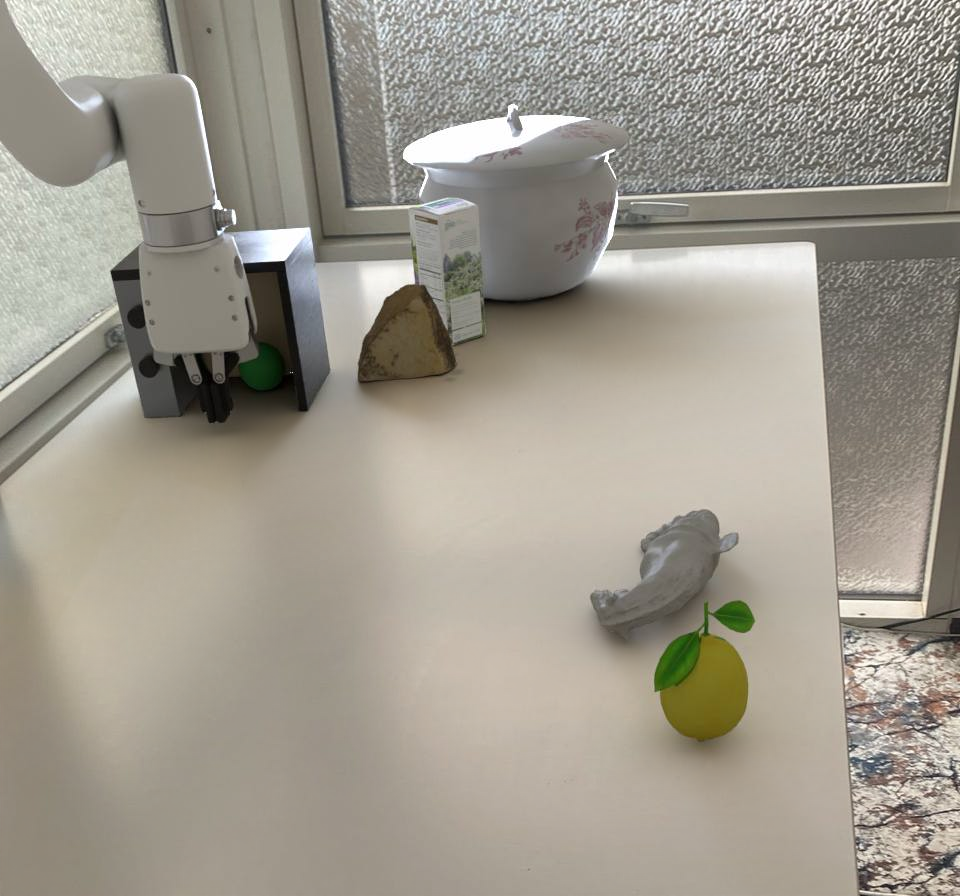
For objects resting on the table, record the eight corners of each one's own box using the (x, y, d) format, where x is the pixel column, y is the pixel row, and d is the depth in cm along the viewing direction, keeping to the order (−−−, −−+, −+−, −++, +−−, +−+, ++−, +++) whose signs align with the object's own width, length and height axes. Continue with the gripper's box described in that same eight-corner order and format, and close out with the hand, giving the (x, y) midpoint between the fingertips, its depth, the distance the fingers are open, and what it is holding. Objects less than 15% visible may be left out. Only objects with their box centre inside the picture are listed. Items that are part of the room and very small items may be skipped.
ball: (233, 334, 144) (249, 351, 149) (229, 380, 144) (246, 396, 149) (277, 334, 143) (292, 352, 148) (274, 381, 143) (289, 397, 148)
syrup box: (456, 326, 160) (445, 195, 151) (488, 336, 156) (478, 201, 147) (419, 339, 157) (405, 205, 148) (450, 348, 153) (438, 212, 145)
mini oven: (141, 421, 142) (106, 273, 133) (177, 376, 153) (147, 237, 144) (306, 414, 140) (282, 263, 131) (330, 369, 151) (310, 227, 142)
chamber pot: (520, 333, 156) (508, 136, 143) (373, 296, 173) (352, 116, 160) (678, 274, 170) (680, 90, 157) (528, 245, 187) (519, 76, 174)
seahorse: (591, 522, 111) (572, 603, 94) (725, 471, 107) (731, 546, 90) (613, 578, 113) (598, 667, 96) (745, 530, 110) (754, 614, 92)
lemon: (749, 711, 88) (757, 574, 82) (761, 761, 84) (770, 619, 78) (648, 716, 89) (648, 580, 83) (654, 766, 84) (654, 625, 78)
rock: (334, 370, 143) (417, 361, 139) (338, 290, 143) (421, 279, 139) (382, 402, 153) (461, 395, 149) (386, 327, 153) (465, 318, 149)
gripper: (267, 212, 127) (298, 402, 139) (117, 221, 129) (159, 408, 141) (249, 232, 122) (283, 429, 133) (92, 241, 123) (139, 435, 135)
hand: (219, 418), depth 137 cm, fingers closed
